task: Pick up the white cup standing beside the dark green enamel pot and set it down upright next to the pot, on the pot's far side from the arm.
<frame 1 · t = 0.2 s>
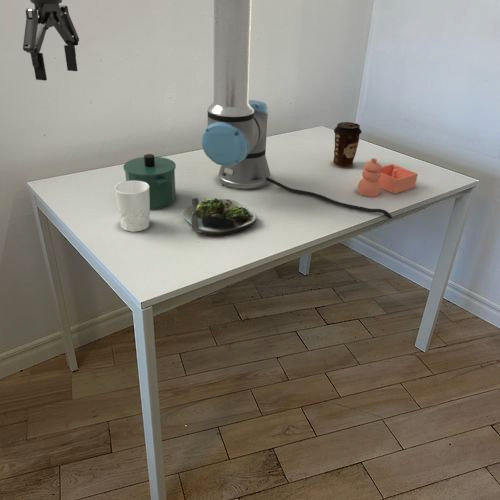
hand: (57, 75, 134), 28 cm above the table, tool pointing down, fingers open, 13 cm apart
pottery: (381, 188, 146), on the table
coffee cup: (343, 165, 162), on the table
pot lid: (149, 167, 129), point 9 cm above the table, touching pot
pot: (152, 199, 134), on the table
salad plate: (218, 222, 124), on the table
white cup: (135, 226, 121), on the table
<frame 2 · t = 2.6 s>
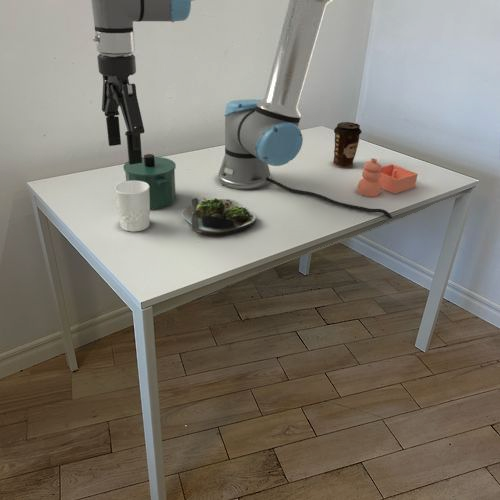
hand: (124, 153, 113), 17 cm above the table, tool pointing down, fingers open, 13 cm apart
nothing on the table moved.
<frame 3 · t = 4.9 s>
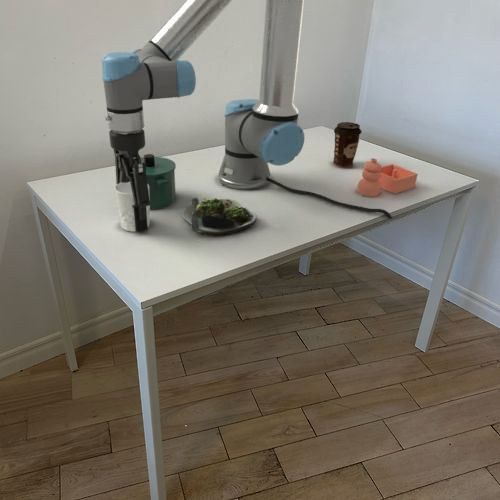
hand: (135, 222, 120), 1 cm above the table, tool pointing down, fingers closed on white cup, 8 cm apart
white cup: (135, 226, 121), on the table, touching gripper
everything else where it was.
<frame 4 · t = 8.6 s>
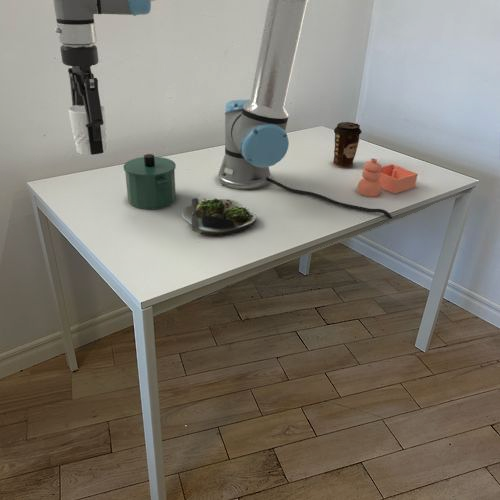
hand: (91, 147, 118), 17 cm above the table, tool pointing down, fingers closed on white cup, 8 cm apart
white cup: (91, 151, 119), point 16 cm above the table, touching gripper
everything else where it was.
when the fingers open (1 cm above the table, at t = 12.5 s): white cup stays where it is, on the table.
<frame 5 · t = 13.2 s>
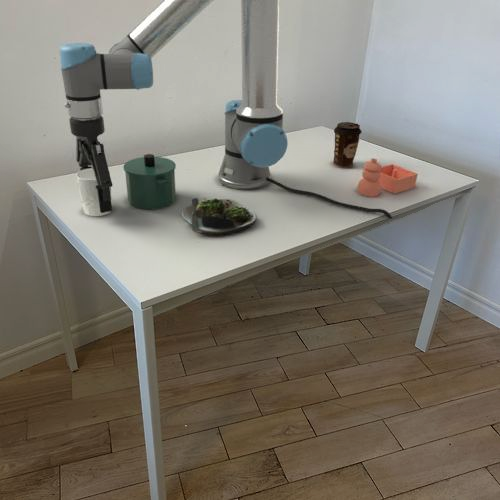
hand: (97, 201, 126), 3 cm above the table, tool pointing down, fingers open, 13 cm apart
white cup: (98, 211, 127), on the table
everything else where it was.
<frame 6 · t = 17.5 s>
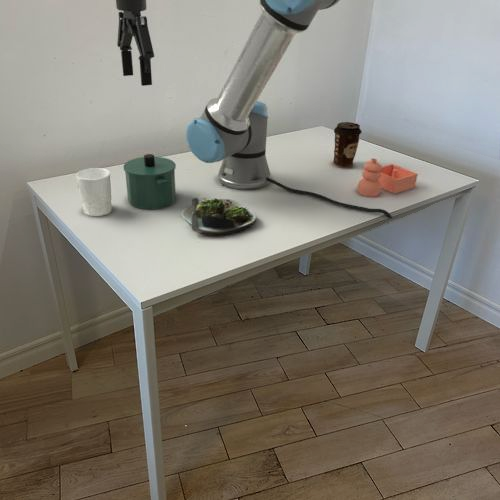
hand: (137, 80, 137), 27 cm above the table, tool pointing down, fingers open, 13 cm apart
nothing on the table moved.
at the end: white cup 0.1 cm from the target spot on the table beside the pot, on the table; white cup tilted 0°; the gripper is holding nothing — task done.
